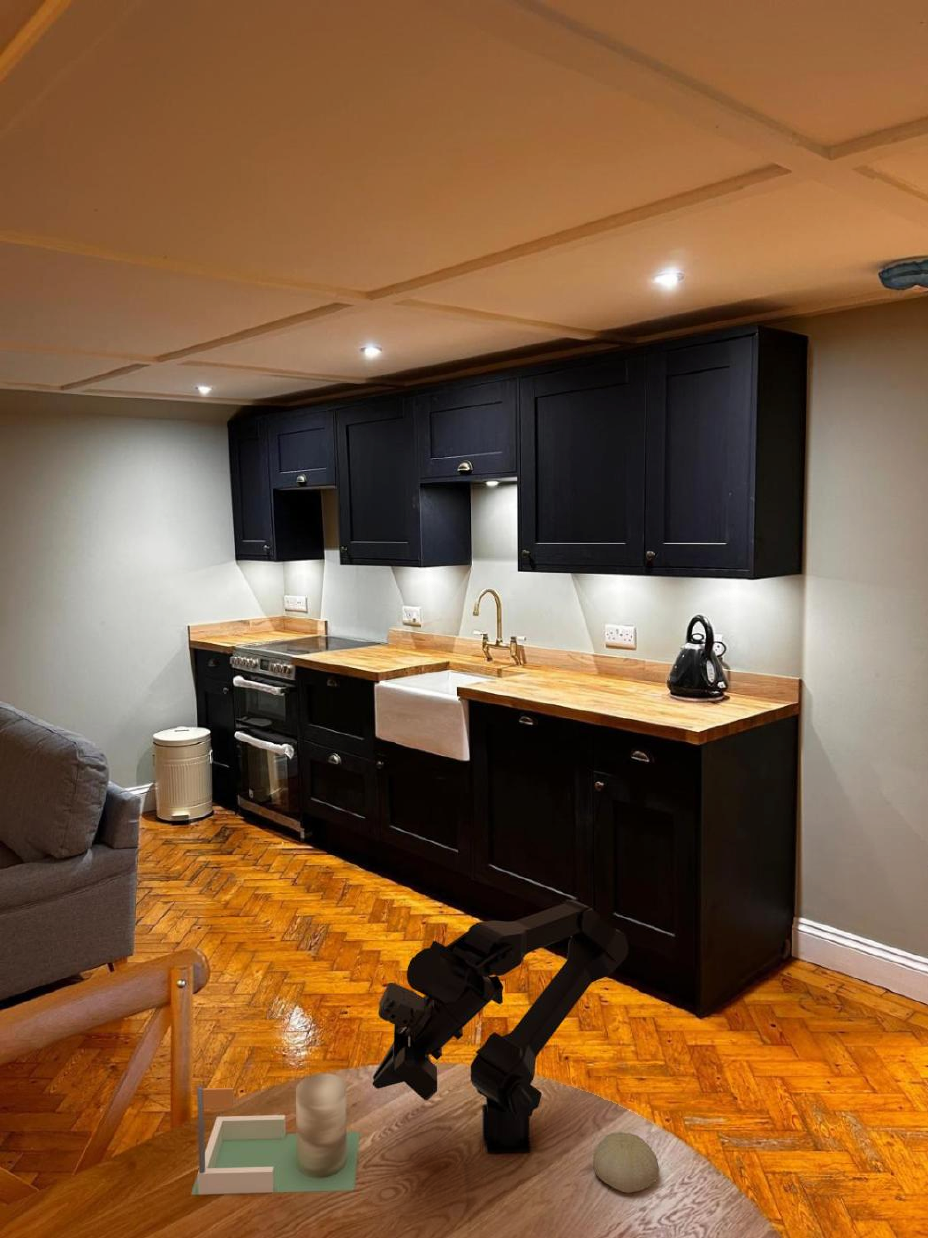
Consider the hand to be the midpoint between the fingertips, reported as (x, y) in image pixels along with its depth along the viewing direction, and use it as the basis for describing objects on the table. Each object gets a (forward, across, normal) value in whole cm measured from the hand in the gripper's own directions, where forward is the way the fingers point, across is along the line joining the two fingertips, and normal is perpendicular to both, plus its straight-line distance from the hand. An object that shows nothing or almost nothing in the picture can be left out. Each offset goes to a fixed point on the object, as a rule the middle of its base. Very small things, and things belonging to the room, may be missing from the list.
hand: (374, 1083), depth 131 cm
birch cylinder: (+14, 0, +3) cm, 14 cm away
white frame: (+21, 0, -5) cm, 22 cm away
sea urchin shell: (-16, +3, +34) cm, 38 cm away
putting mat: (+18, 0, -1) cm, 19 cm away
